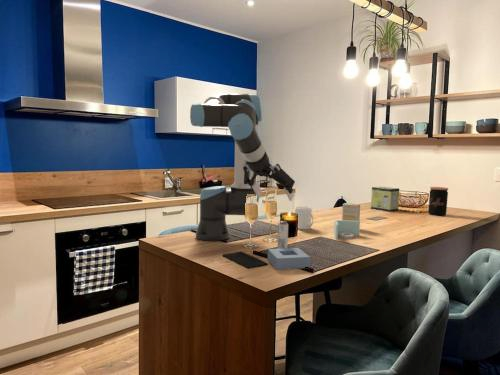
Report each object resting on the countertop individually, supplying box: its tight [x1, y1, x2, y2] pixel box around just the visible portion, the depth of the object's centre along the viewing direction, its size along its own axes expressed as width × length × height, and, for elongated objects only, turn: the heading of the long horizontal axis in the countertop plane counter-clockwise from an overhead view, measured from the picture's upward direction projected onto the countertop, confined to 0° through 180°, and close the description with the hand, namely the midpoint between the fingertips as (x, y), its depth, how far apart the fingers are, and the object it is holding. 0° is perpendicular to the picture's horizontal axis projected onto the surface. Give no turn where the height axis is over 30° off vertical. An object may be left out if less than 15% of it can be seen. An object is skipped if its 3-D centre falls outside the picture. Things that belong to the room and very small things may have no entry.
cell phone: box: [222, 251, 269, 270], centre depth 142 cm, size 9×18×1 cm, turn 34°
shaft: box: [276, 220, 289, 249], centre depth 152 cm, size 4×4×13 cm
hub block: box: [267, 247, 311, 270], centre depth 139 cm, size 12×12×4 cm
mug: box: [294, 206, 314, 230], centre depth 199 cm, size 9×12×11 cm
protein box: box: [370, 186, 400, 213], centre depth 267 cm, size 10×16×16 cm
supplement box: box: [341, 202, 361, 221], centre depth 203 cm, size 8×5×13 cm, turn 57°
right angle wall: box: [333, 219, 361, 240], centre depth 183 cm, size 12×12×8 cm
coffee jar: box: [428, 186, 449, 217], centre depth 251 cm, size 11×11×18 cm
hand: (275, 196), depth 144 cm, fingers open, 13 cm apart
